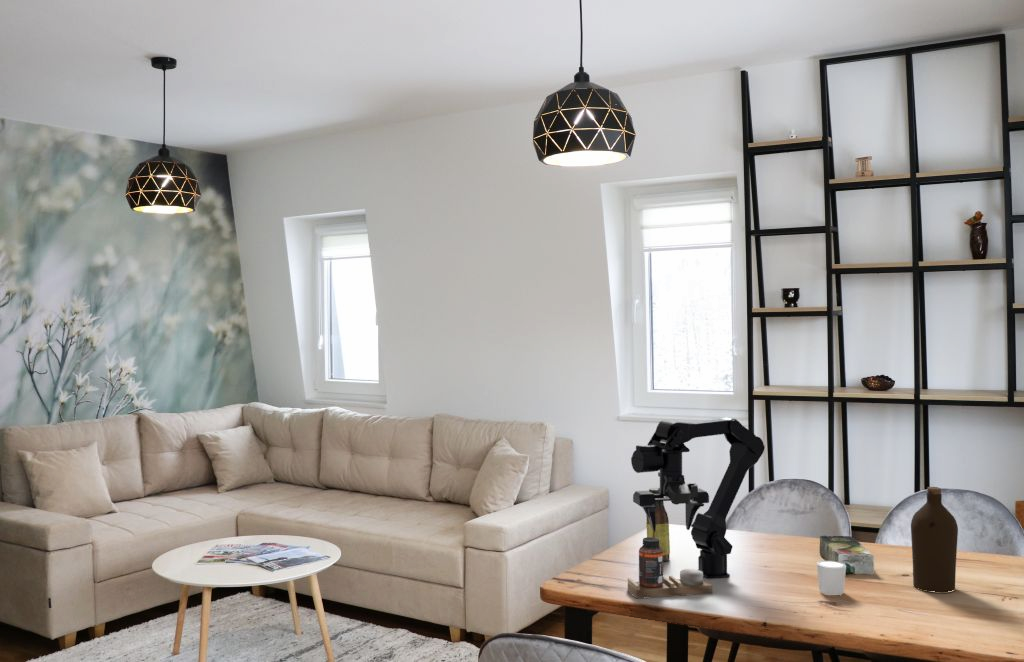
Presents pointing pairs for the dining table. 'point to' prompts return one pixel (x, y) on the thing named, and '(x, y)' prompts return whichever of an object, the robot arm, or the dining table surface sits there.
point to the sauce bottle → (660, 526)
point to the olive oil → (934, 545)
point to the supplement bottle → (651, 563)
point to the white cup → (831, 577)
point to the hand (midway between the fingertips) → (671, 530)
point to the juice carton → (847, 553)
